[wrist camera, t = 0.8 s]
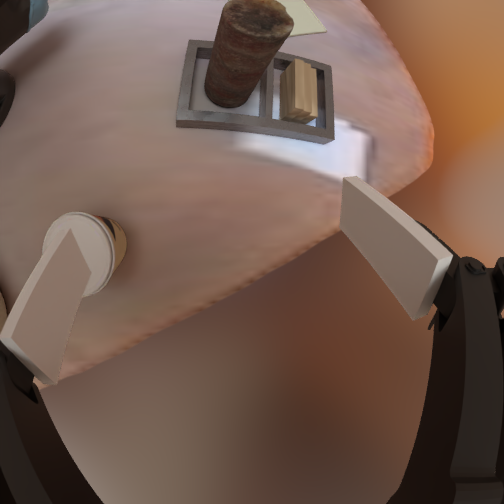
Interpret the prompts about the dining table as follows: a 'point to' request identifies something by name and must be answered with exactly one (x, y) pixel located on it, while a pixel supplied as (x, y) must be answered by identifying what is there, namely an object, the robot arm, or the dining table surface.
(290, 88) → the offcut stack
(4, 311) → the canister
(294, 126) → the offcut rack
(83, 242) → the coffee cup
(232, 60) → the dark brown tall cylinder
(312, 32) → the mat
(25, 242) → the dining table surface
